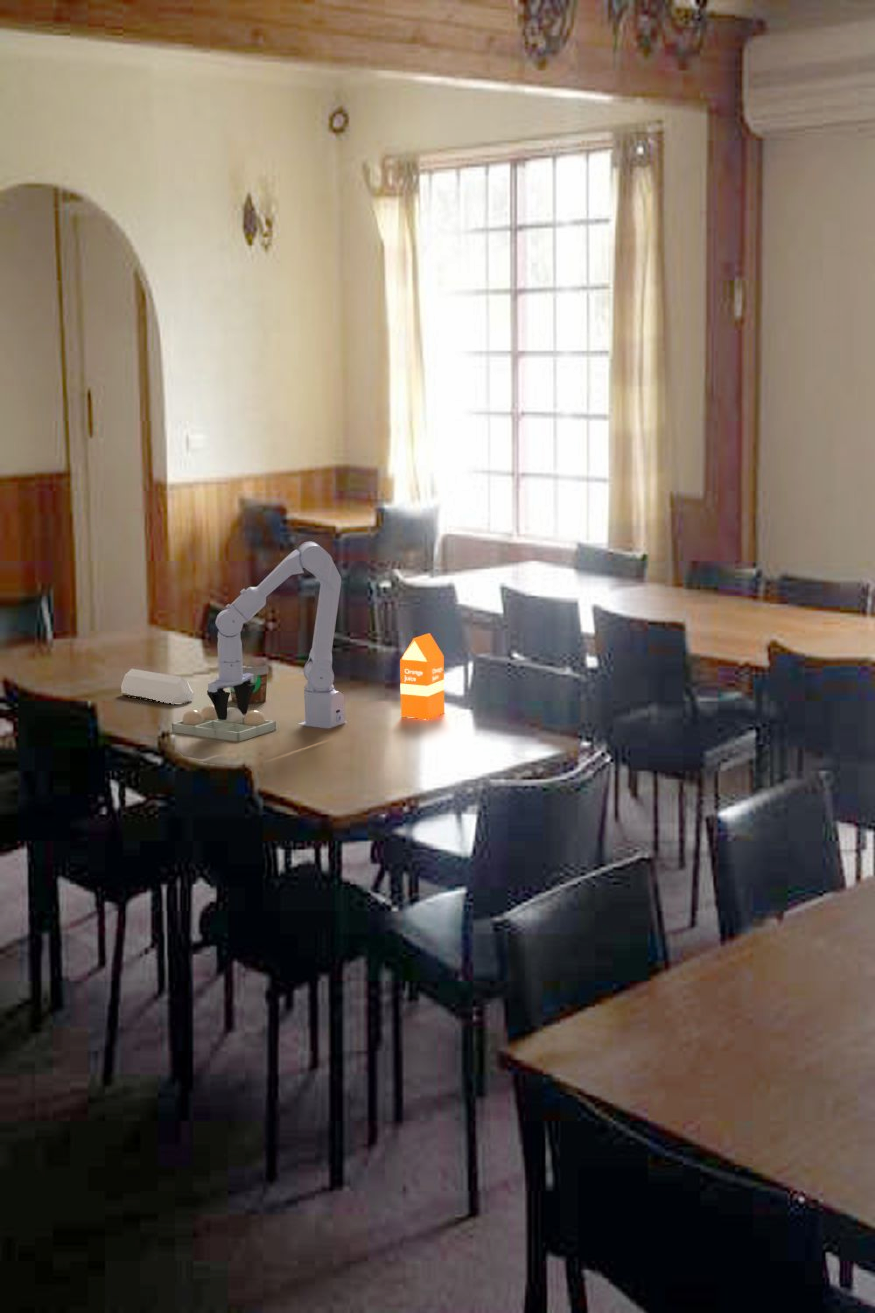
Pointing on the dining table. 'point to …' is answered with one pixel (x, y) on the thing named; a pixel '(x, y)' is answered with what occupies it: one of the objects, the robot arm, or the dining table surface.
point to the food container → (259, 682)
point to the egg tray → (224, 729)
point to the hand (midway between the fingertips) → (232, 716)
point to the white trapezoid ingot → (157, 686)
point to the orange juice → (422, 679)
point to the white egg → (233, 715)
